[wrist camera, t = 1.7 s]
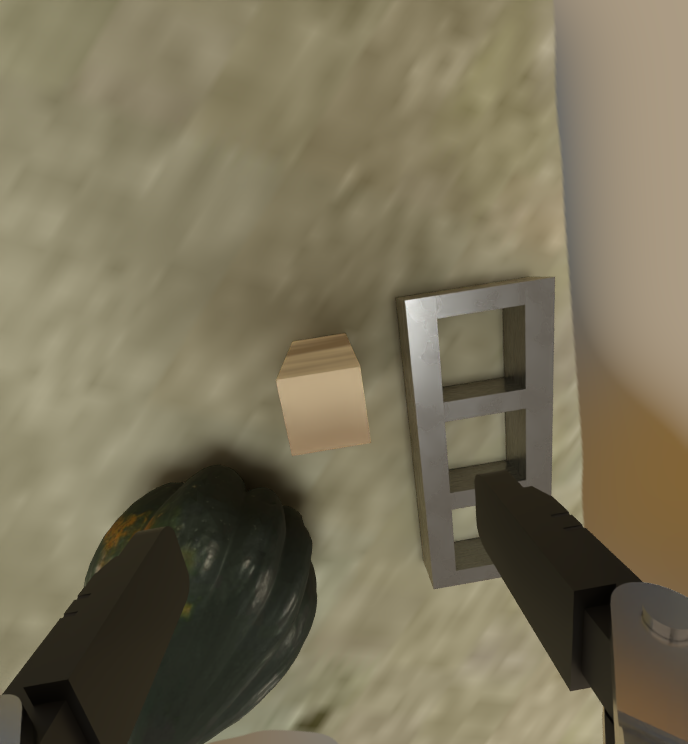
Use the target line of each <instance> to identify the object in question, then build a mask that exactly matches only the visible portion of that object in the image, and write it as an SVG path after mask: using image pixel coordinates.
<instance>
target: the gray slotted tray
mask: <svg viewBox="0 0 688 744" xmlns="http://www.w3.org/2000/svg"><path fill="white" fill-rule="evenodd" d="M554 300H555V277H524V278H518V279H511V280H505V281H499V282H492V283H486V284H480V285H473V286H467V287H461V288H454V289H448V290H442V291H435V292H429V293H422V294H416V295H410V296H403V297H397V298H396V307H397V317H398V326H399V335H400V345H401V354H402V364H403V373H404V382H405V392H406V401H407V411H408V420H409V429H410V439H411V448H412V458H413V467H414V476H415V486H416V495H417V505H418V514H419V523H420V533H421V542H422V551H423V561H424V564H425V567H426V569H427V572H428V575H429V578H430V580H431V583H432V586H433V589H438V588H443V587H449V586H455V585H460V584H466V583H472V582H477V581H483V580H489V579H494V578H500V577H501V575H500V574H499V572H498V571H497V569H496V567H495V566H494V564H493V562H492V561H491V559H490V557H489V556H488V554H487V552H486V551H485V549H484V547H483V545H482V542H481V540H480V538H475V539H470V540H464V541H458V542H454V537H453V524H452V511H451V510H452V509H458V508H464V507H470V506H475V505H476V502H475V484H474V480H475V476H476V475H477V474H483V473H489V472H495V471H500V470H506V471H508V472H509V473H510V474H511V475H512V476H513V477H514V478H515V479H516V480H517V481H518V482H519V483H520V484H521V485H522V486H523V487H529V486H533V487H535V488H537V489H539V490H541V491H542V492H544V493H546V494H548V495H550V496H551V481H552V421H553V361H554ZM501 308H503V336H504V377H503V378H497V379H491V380H485V381H478V382H472V383H466V384H460V385H454V386H448V387H442V379H441V365H440V352H439V339H438V326H437V319H438V318H444V317H451V316H457V315H463V314H469V313H476V312H482V311H488V310H495V309H501ZM501 412H505V421H506V461H500V462H494V463H488V464H482V465H476V466H470V467H464V468H458V469H452V470H448V458H447V445H446V432H445V422H447V421H453V420H459V419H465V418H471V417H477V416H483V415H489V414H495V413H501Z"/></svg>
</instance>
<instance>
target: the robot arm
mask: <svg viewBox="0 0 688 744" xmlns="http://www.w3.org/2000/svg"><path fill="white" fill-rule="evenodd" d="M474 484H475V502H476V520H477V529H478V533H479V536H480V540H481V542H482V545H483V547H484V549H485V551H486V552H487V554H488V556H489V557H490V559H491V561H492V562H493V564H494V566H495V567H496V569H497V571H498V572H499V574H500V575H501V577H502V579H503V580H504V582H505V584H506V585H507V587H508V589H509V590H510V592H511V594H512V595H513V597H514V599H515V600H516V602H517V604H518V605H519V607H520V609H521V610H522V612H523V614H524V615H525V617H526V619H527V620H528V622H529V624H530V625H531V627H532V628H533V630H534V632H535V633H536V635H537V637H538V638H539V640H540V642H541V643H542V645H543V647H544V648H545V650H546V652H547V653H548V655H549V657H550V658H551V660H552V662H553V663H554V665H555V667H556V668H557V670H558V672H559V673H560V675H561V676H562V678H563V680H564V681H565V683H566V685H567V686H568V688H569V690H570V691H574V690H580V689H585V688H590V687H591V688H592V689H593V691H594V693H595V694H596V696H597V697H598V699H599V700H600V702H601V703H602V705H603V713H602V721H603V744H688V597H686V596H684V595H682V594H680V593H678V592H676V591H673V590H671V589H669V588H666V587H662V586H660V585H655V584H651V583H644V582H642V581H641V580H640V579H639V578H638V577H637V576H636V575H635V574H634V573H633V572H632V571H631V570H630V569H629V568H627V566H625V565H624V564H623V563H622V562H621V561H620V560H619V559H618V558H617V557H616V556H615V555H614V554H613V553H611V552H610V551H609V550H608V549H607V548H606V547H605V546H604V545H603V544H602V543H601V542H600V541H599V540H598V539H597V538H596V537H595V536H594V535H593V534H592V533H590V532H589V531H588V530H587V529H586V528H583V526H582V524H581V523H580V522H579V521H578V520H577V519H576V518H575V517H574V516H573V515H570V514H569V512H568V511H567V510H566V509H565V508H564V507H563V506H562V505H561V504H560V503H559V502H558V501H557V500H556V499H554V498H553V497H552V496H550V495H548V494H546V493H544V492H542V491H541V490H539V489H537V488H535V487H533V486H529V487H523V486H522V485H521V484H520V483H519V482H518V481H517V480H516V479H515V478H514V477H513V476H512V475H511V474H510V473H509V472H508V471H506V470H500V471H495V472H489V473H483V474H477V475H476V476H475V480H474ZM189 585H190V582H189V573H188V570H187V567H186V564H185V561H184V558H183V555H182V552H181V549H180V546H179V543H178V540H177V537H176V534H175V531H174V530H173V528H172V527H170V526H166V527H160V528H154V529H148V530H142V531H138V532H136V533H135V534H134V535H133V537H132V538H131V539H130V541H129V542H128V543H127V545H126V546H125V548H124V549H123V550H122V552H121V553H120V554H119V556H115V557H114V558H113V559H111V560H110V561H109V562H108V563H107V564H106V565H105V566H103V567H102V568H101V569H100V570H99V571H98V572H96V573H95V574H94V575H93V576H92V578H91V579H90V580H89V582H88V583H87V584H86V585H85V587H84V588H83V589H82V591H81V592H80V593H79V595H78V599H77V600H74V601H73V603H72V604H71V605H70V606H69V608H68V609H67V610H66V612H65V613H64V617H63V618H60V620H59V621H58V622H57V623H56V625H55V626H54V627H53V629H52V630H51V631H50V633H49V634H48V635H47V637H46V638H45V639H44V640H43V642H42V643H41V644H40V646H39V647H38V648H37V650H36V651H35V652H34V654H33V655H32V656H31V657H30V659H29V660H28V661H27V663H26V664H25V665H24V667H23V668H22V669H21V671H20V672H19V673H18V674H17V676H16V677H15V678H14V680H13V681H12V682H11V684H10V685H9V686H8V688H7V689H6V690H5V691H4V693H3V694H2V695H0V744H127V743H128V741H129V739H130V736H131V734H132V731H133V729H134V726H135V724H136V722H137V719H138V717H139V714H140V712H141V710H142V707H143V705H144V702H145V700H146V698H147V695H148V693H149V690H150V688H151V686H152V683H153V681H154V678H155V676H156V673H157V671H158V669H159V666H160V664H161V661H162V659H163V657H164V654H165V652H166V649H167V647H168V645H169V642H170V640H171V637H172V635H173V633H174V630H175V628H176V625H177V623H178V620H179V618H180V616H181V613H182V611H183V608H184V606H185V604H186V601H187V598H188V594H189Z"/></svg>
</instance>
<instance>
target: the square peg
mask: <svg viewBox="0 0 688 744" xmlns="http://www.w3.org/2000/svg"><path fill="white" fill-rule="evenodd" d="M276 383H277V387H278V392H279V397H280V401H281V406H282V411H283V415H284V420H285V425H286V430H287V434H288V439H289V444H290V448H291V453H292V456H294V455H300V454H306V453H312V452H318V451H324V450H330V449H336V448H342V447H348V446H354V445H360V444H366V443H371V439H370V432H369V425H368V418H367V411H366V404H365V397H364V389H363V382H362V375H361V368H360V365H359V363H358V360H357V358H356V356H355V353H354V351H353V349H352V347H351V344H350V342H349V340H348V338H347V335H346V333H343V334H336V335H330V336H324V337H318V338H311V339H305V340H299V341H293V342H292V344H291V346H290V348H289V351H288V353H287V356H286V358H285V360H284V363H283V365H282V367H281V370H280V372H279V374H278V377H277V379H276Z"/></svg>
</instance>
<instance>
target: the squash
mask: <svg viewBox="0 0 688 744" xmlns="http://www.w3.org/2000/svg"><path fill="white" fill-rule="evenodd" d="M166 526H170V527H172V528H173V530H174V531H175V534H176V537H177V540H178V543H179V546H180V549H181V552H182V555H183V558H184V561H185V564H186V567H187V570H188V573H189V582H190V585H189V594H188V598H187V601H186V604H185V606H184V608H183V611H182V613H181V616H180V618H179V620H178V623H177V625H176V628H175V630H174V633H173V635H172V637H171V640H170V642H169V645H168V647H167V649H166V652H165V654H164V657H163V659H162V661H161V664H160V666H159V669H158V671H157V673H156V676H155V678H154V681H153V683H152V686H151V688H150V690H149V693H148V695H147V698H146V700H145V702H144V705H143V707H142V710H141V712H140V714H139V717H138V719H137V722H136V724H135V726H134V729H133V731H132V734H131V736H130V739H129V741H128V743H127V744H204V743H205V742H207V741H208V740H210V739H212V738H213V737H214V736H216V735H217V734H219V733H220V732H221V731H223V730H224V729H226V728H227V727H229V726H231V725H232V724H234V723H236V722H237V721H239V720H240V719H241V718H242V717H244V716H245V715H246V714H247V713H248V712H250V711H251V710H252V709H253V708H254V707H255V706H256V705H257V704H258V703H259V702H260V701H261V700H262V699H263V698H264V697H265V696H266V695H267V694H268V693H269V692H270V691H271V690H272V689H273V688H274V687H275V686H276V685H277V683H278V682H279V681H280V680H281V679H282V677H283V676H284V675H285V674H286V672H287V671H288V670H289V668H290V667H291V665H292V664H293V662H294V661H295V659H296V658H297V656H298V654H299V652H300V650H301V648H302V646H303V644H304V641H305V640H306V638H307V636H308V634H309V631H310V629H311V626H312V623H313V620H314V617H315V613H316V606H317V592H316V576H315V571H314V567H313V564H312V562H311V554H312V540H311V537H310V535H309V532H308V530H307V529H306V527H305V526H304V523H303V520H302V516H301V515H300V513H299V512H298V511H296V510H295V509H293V508H291V507H288V506H282V503H281V501H280V499H279V497H278V496H277V495H276V494H275V493H274V492H273V491H272V490H270V489H268V488H264V487H260V488H255V489H252V490H250V491H248V492H246V488H245V484H244V482H243V480H242V479H241V478H240V476H239V475H238V474H237V473H236V472H235V471H234V470H233V469H231V468H228V467H224V466H221V465H215V466H210V467H207V468H205V469H203V470H201V471H199V472H198V473H197V474H195V475H194V476H192V477H191V478H190V479H188V480H187V481H186V482H185V483H169V484H166V485H163V486H160V487H158V488H156V489H154V490H152V491H150V492H149V493H147V494H146V495H144V496H143V497H142V498H140V499H139V500H137V501H136V502H135V503H133V504H132V505H131V506H130V507H129V508H128V509H127V510H126V511H125V512H124V513H123V514H122V515H121V516H120V517H119V518H118V519H117V520H116V522H115V523H114V524H113V525H112V527H111V528H110V529H109V531H108V532H107V533H106V535H105V536H104V537H103V539H102V541H101V543H100V545H99V547H98V548H97V550H96V552H95V555H94V557H93V559H92V561H91V563H90V566H89V569H88V572H87V575H86V578H85V584H84V587H85V585H86V584H87V583H88V582H89V580H90V579H91V578H92V576H93V575H94V574H95V573H96V572H98V571H99V570H100V569H101V568H102V567H103V566H105V565H106V564H107V563H108V562H109V561H110V560H111V559H113V558H114V557H115V556H119V554H120V553H121V552H122V550H123V549H124V548H125V546H126V545H127V543H128V542H129V541H130V539H131V538H132V537H133V535H134V534H135V533H136V532H138V531H142V530H148V529H154V528H160V527H166Z"/></svg>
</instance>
